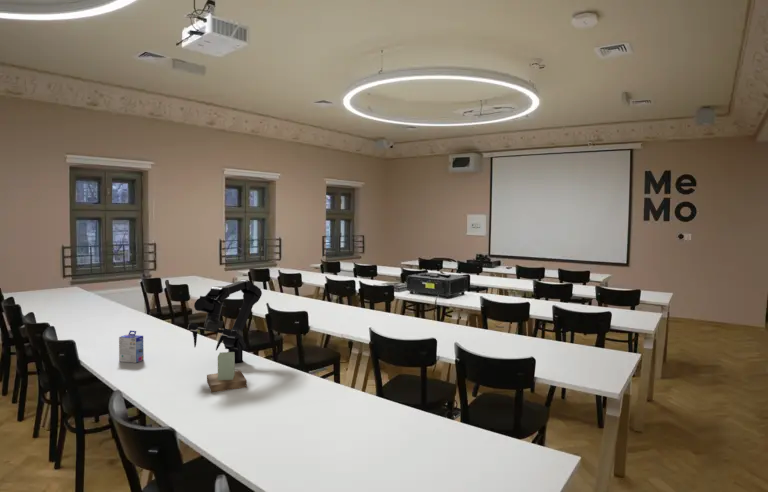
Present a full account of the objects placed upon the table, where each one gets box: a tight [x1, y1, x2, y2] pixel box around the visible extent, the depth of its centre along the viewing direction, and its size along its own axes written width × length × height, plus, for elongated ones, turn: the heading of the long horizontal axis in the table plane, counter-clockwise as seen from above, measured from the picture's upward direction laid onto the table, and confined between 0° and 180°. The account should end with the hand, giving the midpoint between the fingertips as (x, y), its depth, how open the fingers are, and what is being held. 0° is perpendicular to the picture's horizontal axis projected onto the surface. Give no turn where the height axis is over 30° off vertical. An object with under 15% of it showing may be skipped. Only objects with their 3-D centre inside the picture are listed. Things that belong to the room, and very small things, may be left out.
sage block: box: [217, 351, 236, 380], centre depth 202 cm, size 6×6×10 cm
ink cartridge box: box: [118, 330, 145, 364], centre depth 232 cm, size 10×6×14 cm, turn 78°
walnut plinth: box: [206, 369, 248, 394], centre depth 203 cm, size 14×14×3 cm
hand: (205, 348), depth 215 cm, fingers open, 9 cm apart
